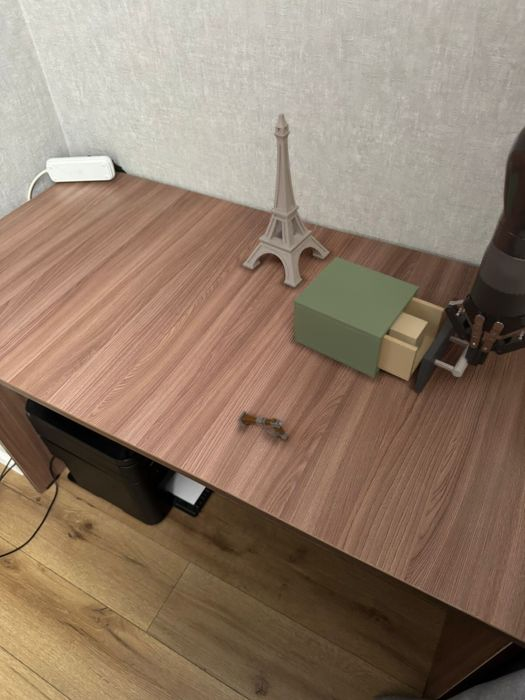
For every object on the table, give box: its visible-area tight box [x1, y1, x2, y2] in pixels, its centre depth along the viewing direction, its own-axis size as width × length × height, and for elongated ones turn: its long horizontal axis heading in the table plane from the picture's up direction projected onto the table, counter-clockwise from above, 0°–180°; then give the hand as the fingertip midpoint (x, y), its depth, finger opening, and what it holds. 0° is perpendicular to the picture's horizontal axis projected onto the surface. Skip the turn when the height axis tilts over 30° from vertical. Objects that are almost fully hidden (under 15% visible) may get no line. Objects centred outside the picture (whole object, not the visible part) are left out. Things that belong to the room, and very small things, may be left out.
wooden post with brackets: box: [237, 410, 289, 442], centre depth 74 cm, size 2×8×4 cm, turn 60°
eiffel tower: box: [242, 112, 331, 288], centre depth 92 cm, size 13×13×30 cm
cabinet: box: [293, 256, 420, 379], centre depth 83 cm, size 16×14×10 cm
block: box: [388, 312, 428, 352], centre depth 79 cm, size 4×4×6 cm
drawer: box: [378, 297, 469, 394], centre depth 79 cm, size 19×13×8 cm, turn 54°
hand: (474, 361), depth 74 cm, fingers closed
